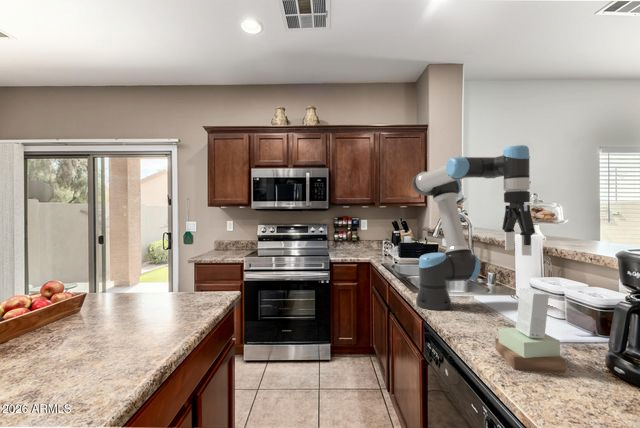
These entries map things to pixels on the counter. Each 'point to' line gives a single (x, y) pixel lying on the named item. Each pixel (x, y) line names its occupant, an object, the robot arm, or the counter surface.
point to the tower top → (528, 344)
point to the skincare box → (532, 313)
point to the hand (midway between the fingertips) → (517, 252)
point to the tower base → (531, 361)
